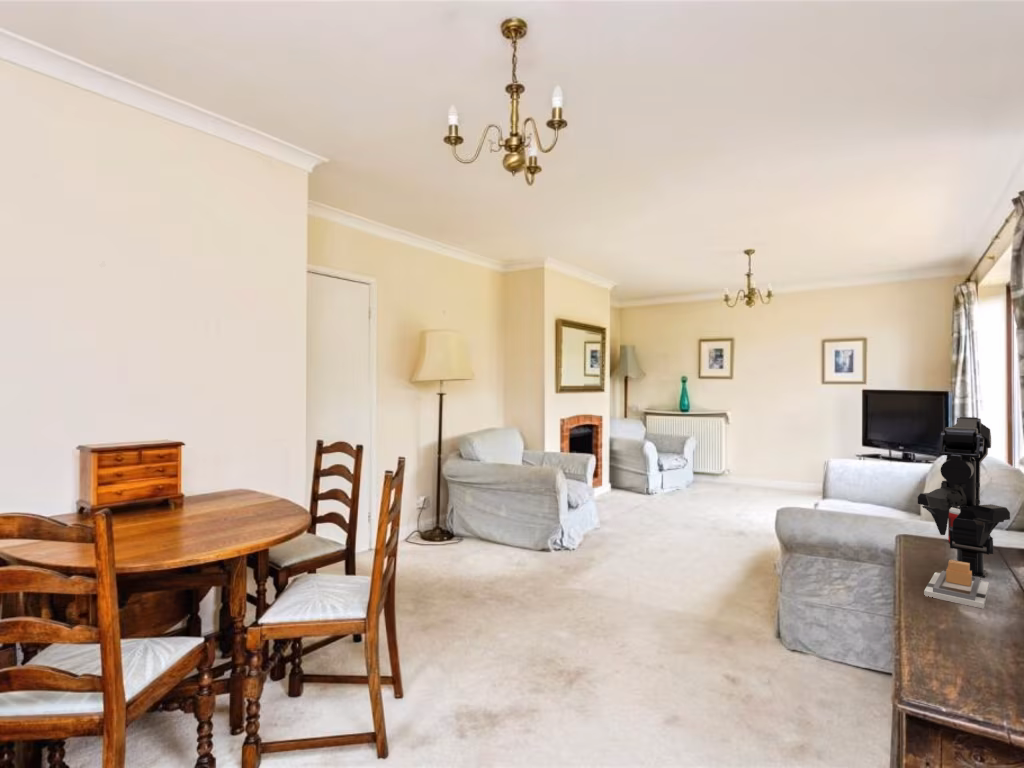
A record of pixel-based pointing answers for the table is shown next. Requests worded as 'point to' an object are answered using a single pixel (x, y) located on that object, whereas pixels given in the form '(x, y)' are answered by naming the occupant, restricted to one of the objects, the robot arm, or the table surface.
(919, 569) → the table surface
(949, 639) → the table surface
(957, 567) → the fader knob
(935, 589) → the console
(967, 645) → the table surface
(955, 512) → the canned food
